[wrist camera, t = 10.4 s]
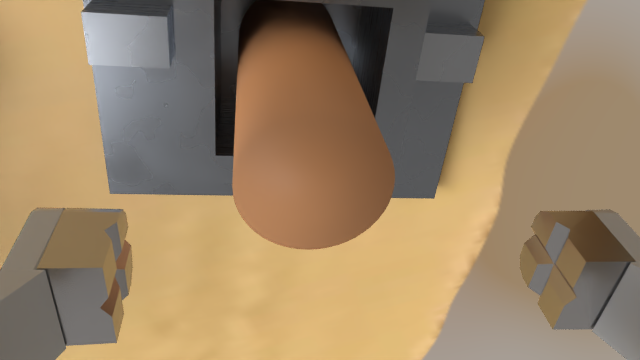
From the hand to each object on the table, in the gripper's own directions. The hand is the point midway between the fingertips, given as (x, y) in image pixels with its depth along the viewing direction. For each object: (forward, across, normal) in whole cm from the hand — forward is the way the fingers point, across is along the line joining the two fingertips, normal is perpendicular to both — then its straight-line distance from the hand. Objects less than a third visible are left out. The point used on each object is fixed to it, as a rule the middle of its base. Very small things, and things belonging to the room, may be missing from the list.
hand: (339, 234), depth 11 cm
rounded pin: (+14, 0, +1) cm, 14 cm away
